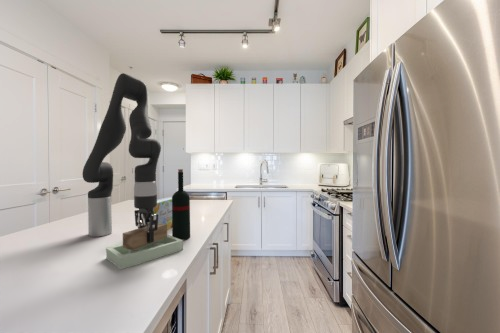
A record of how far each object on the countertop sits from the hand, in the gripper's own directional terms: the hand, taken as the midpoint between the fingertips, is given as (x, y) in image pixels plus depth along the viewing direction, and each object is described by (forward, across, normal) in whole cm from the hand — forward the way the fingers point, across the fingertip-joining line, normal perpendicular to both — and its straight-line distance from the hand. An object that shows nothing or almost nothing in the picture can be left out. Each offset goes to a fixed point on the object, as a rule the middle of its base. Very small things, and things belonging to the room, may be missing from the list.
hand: (146, 240), depth 86 cm
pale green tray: (+5, 0, 0) cm, 5 cm away
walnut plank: (+1, 0, 0) cm, 1 cm away
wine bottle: (+5, +8, -19) cm, 21 cm away
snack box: (+5, +24, -19) cm, 31 cm away
